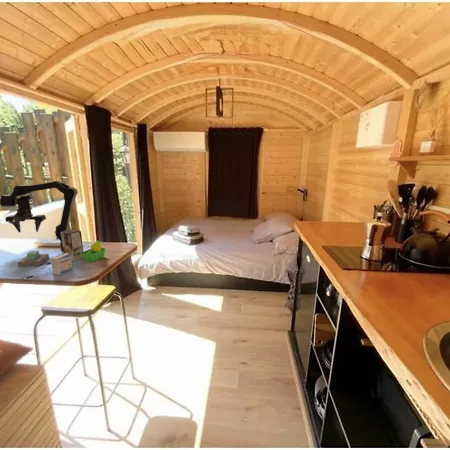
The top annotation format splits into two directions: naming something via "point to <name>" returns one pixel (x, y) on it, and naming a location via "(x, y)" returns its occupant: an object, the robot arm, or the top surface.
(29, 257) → the block
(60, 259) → the medicine box
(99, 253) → the fruit basket
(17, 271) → the top surface
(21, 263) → the pocket plate
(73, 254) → the coffee box
